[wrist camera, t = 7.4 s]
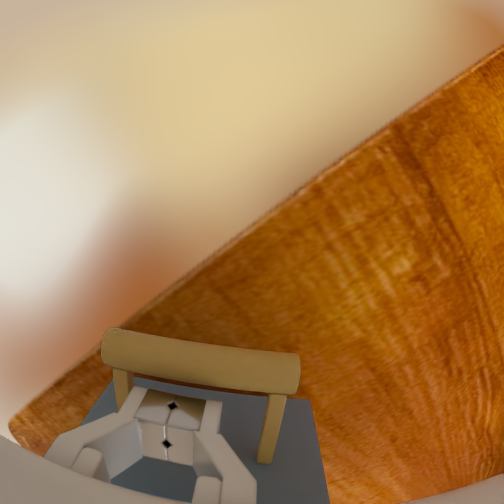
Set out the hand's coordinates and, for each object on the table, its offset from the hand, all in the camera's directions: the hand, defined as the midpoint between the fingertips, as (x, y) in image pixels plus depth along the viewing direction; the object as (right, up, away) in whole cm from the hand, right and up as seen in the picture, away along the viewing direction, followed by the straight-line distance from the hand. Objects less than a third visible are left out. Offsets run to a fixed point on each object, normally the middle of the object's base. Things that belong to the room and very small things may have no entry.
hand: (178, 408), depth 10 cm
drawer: (0, -5, +7) cm, 8 cm away
